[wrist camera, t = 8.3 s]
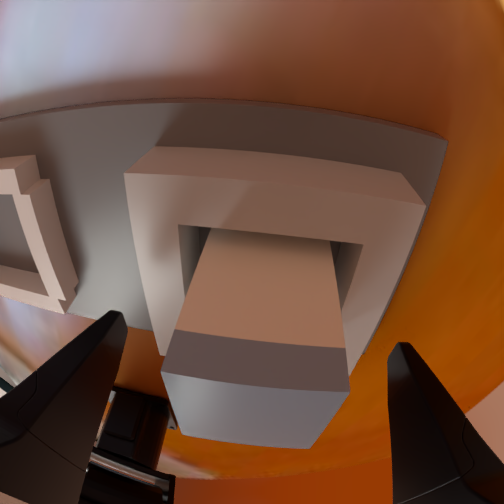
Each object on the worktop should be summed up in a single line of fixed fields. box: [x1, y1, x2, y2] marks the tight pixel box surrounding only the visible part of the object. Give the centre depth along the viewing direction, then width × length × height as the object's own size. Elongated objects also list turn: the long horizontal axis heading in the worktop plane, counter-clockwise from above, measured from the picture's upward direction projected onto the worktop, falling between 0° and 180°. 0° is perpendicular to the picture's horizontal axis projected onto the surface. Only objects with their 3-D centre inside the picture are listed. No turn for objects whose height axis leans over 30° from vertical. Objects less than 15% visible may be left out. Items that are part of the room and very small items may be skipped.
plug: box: [160, 228, 350, 449], centre depth 10 cm, size 4×4×7 cm
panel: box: [0, 98, 448, 376], centre depth 13 cm, size 12×26×4 cm, turn 87°
